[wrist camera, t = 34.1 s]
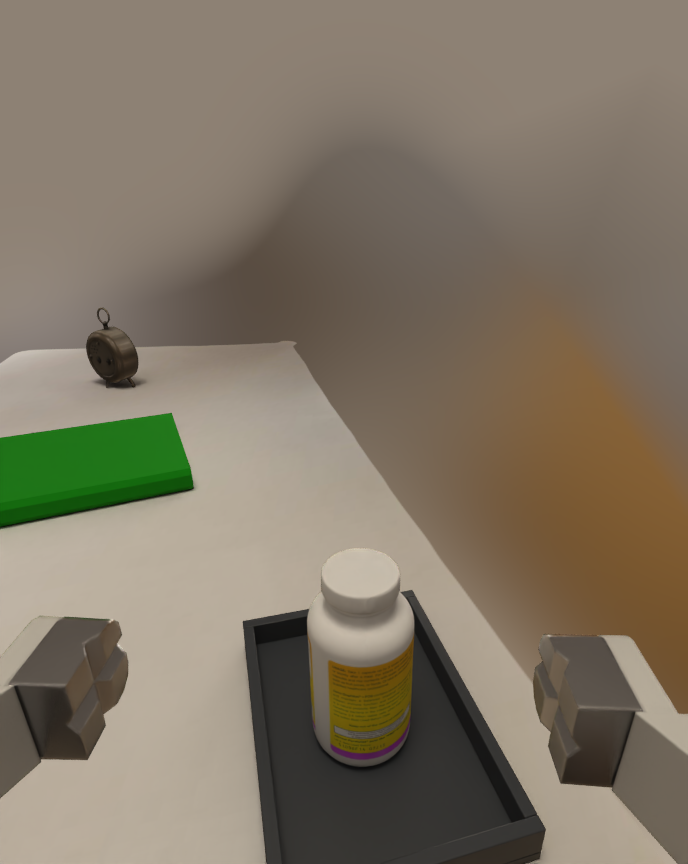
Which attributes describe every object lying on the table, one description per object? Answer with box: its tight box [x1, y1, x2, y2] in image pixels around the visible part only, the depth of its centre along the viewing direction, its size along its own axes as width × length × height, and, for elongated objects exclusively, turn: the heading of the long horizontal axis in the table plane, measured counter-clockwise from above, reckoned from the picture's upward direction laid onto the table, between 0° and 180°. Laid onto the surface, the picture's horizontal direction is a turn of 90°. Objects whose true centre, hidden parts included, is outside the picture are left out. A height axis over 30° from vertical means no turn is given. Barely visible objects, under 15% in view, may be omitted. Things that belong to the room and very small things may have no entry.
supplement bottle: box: [307, 548, 414, 767], centre depth 33 cm, size 7×7×13 cm
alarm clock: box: [86, 308, 138, 388], centre depth 105 cm, size 11×5×16 cm, turn 60°
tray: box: [243, 590, 546, 864], centre depth 35 cm, size 20×15×3 cm
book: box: [0, 413, 193, 527], centre depth 70 cm, size 22×28×3 cm
